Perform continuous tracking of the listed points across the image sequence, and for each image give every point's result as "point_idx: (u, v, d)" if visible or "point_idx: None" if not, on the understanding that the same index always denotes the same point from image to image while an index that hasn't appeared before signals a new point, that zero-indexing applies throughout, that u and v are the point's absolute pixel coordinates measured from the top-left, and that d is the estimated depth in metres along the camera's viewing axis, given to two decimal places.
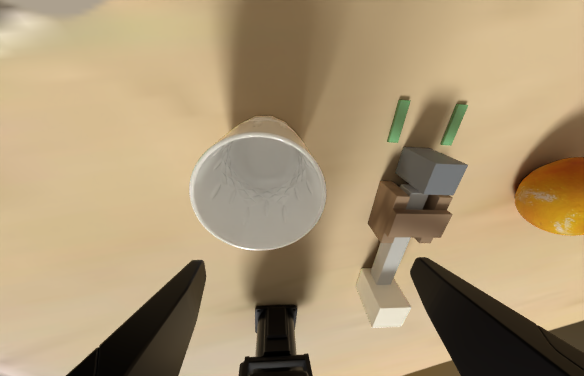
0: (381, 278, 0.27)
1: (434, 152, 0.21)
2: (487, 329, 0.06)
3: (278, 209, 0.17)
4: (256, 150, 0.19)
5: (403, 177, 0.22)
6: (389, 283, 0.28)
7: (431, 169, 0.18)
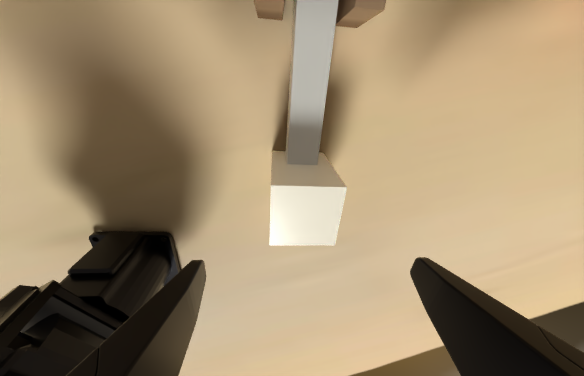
0: (294, 145, 0.13)
1: None
2: (487, 329, 0.06)
3: None
4: None
5: None
6: (314, 161, 0.14)
7: None
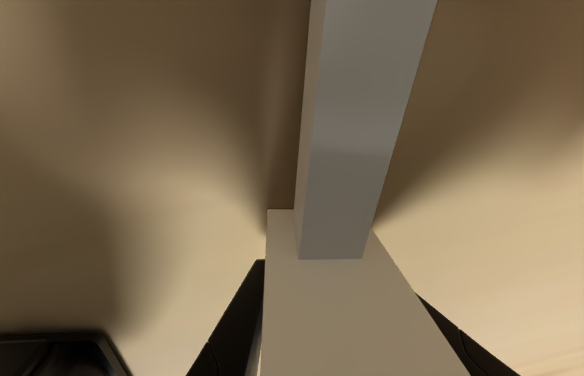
0: (314, 226, 0.06)
1: None
2: None
3: None
4: None
5: None
6: (356, 253, 0.06)
7: None
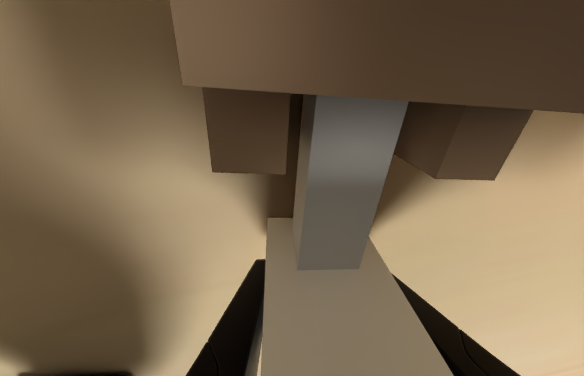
0: (313, 239, 0.06)
1: None
2: None
3: None
4: None
5: None
6: (353, 264, 0.07)
7: None
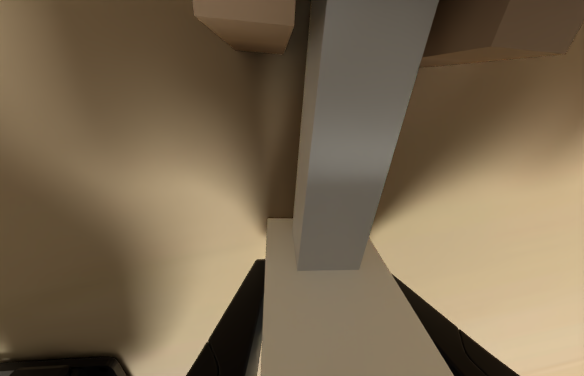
0: (313, 240, 0.06)
1: None
2: None
3: None
4: None
5: None
6: (353, 264, 0.07)
7: None
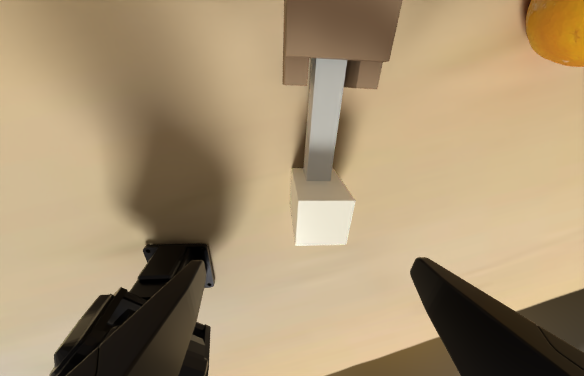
0: (312, 166, 0.16)
1: None
2: (487, 329, 0.06)
3: None
4: None
5: None
6: (327, 178, 0.17)
7: None
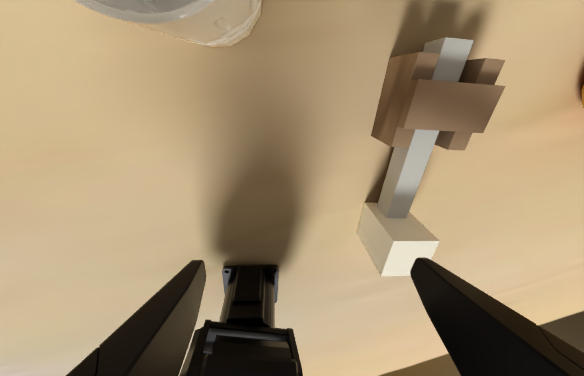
0: (393, 206, 0.19)
1: None
2: (487, 329, 0.06)
3: None
4: None
5: None
6: (404, 216, 0.20)
7: None
